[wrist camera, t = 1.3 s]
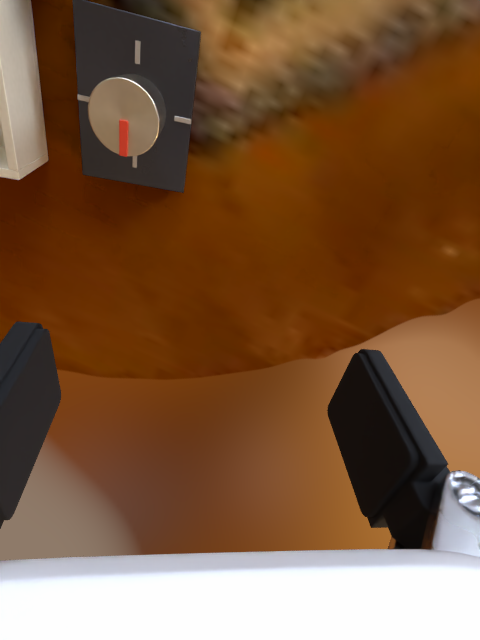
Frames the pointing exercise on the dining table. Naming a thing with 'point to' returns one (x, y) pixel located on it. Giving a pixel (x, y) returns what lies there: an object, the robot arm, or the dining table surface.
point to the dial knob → (127, 114)
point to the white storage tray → (20, 93)
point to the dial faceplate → (149, 62)
